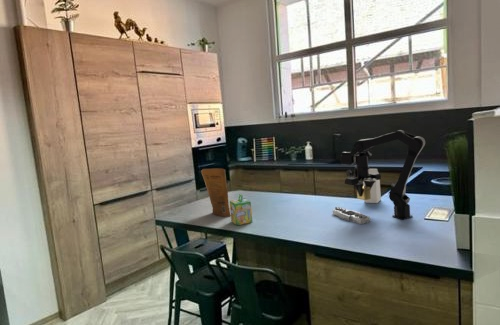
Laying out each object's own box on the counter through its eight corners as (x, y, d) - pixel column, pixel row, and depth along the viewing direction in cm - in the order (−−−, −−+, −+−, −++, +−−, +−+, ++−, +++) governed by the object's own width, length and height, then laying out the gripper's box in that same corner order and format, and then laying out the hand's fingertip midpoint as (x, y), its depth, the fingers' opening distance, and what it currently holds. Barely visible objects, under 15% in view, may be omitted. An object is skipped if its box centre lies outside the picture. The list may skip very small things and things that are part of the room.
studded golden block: (370, 198, 168) (369, 185, 168) (364, 200, 167) (363, 187, 166) (363, 197, 173) (362, 184, 172) (357, 198, 171) (356, 185, 171)
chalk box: (231, 221, 182) (228, 194, 180) (247, 218, 185) (244, 192, 183) (236, 226, 173) (233, 198, 171) (253, 222, 176) (250, 195, 174)
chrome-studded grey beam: (372, 221, 158) (372, 214, 158) (360, 225, 156) (359, 218, 155) (342, 211, 179) (341, 205, 178) (330, 214, 176) (330, 208, 175)
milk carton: (377, 203, 187) (375, 169, 184) (364, 202, 191) (362, 169, 189) (380, 200, 192) (379, 167, 190) (368, 199, 197) (366, 167, 194)
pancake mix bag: (226, 218, 188) (220, 169, 184) (205, 214, 202) (199, 168, 198) (235, 215, 193) (229, 167, 189) (214, 211, 206) (208, 166, 203)
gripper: (365, 161, 179) (366, 189, 181) (336, 166, 171) (338, 196, 173) (381, 162, 168) (382, 193, 170) (351, 168, 161) (353, 200, 163)
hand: (363, 195), depth 170 cm, fingers closed on studded golden block, 4 cm apart
